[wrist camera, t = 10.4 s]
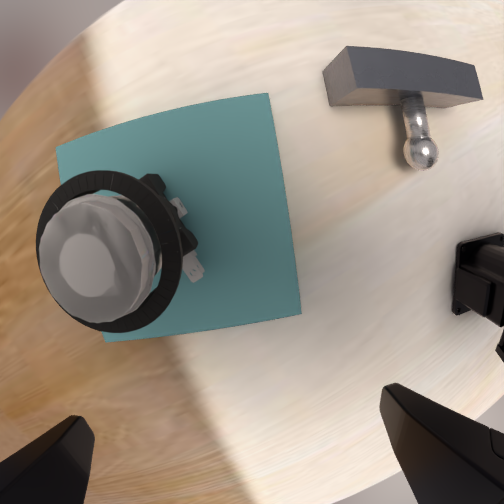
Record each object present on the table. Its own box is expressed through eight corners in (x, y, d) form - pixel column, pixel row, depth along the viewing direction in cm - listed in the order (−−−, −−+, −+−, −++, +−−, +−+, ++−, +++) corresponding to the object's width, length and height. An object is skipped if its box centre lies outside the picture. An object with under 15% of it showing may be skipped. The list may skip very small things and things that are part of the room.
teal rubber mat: (266, 97, 17) (267, 92, 16) (298, 307, 20) (301, 313, 19) (63, 148, 16) (55, 147, 15) (110, 335, 20) (105, 342, 19)
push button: (236, 249, 18) (240, 333, 8) (165, 293, 18) (112, 397, 9) (175, 154, 16) (105, 130, 7) (106, 205, 17) (-2, 240, 7)
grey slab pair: (396, -31, 14) (419, -54, 9) (454, 166, 18) (493, 168, 14) (286, -45, 13) (297, -79, 9) (342, 176, 18) (372, 177, 14)
